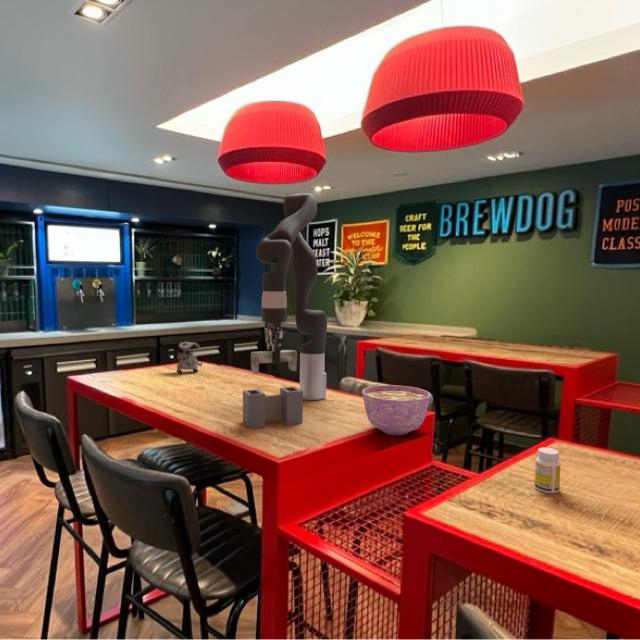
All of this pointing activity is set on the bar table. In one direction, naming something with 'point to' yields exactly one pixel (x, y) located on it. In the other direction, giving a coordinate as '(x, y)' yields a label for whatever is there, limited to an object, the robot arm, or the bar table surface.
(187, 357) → the figurine
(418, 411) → the bowl of food
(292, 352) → the rail
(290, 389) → the grey hollow block
